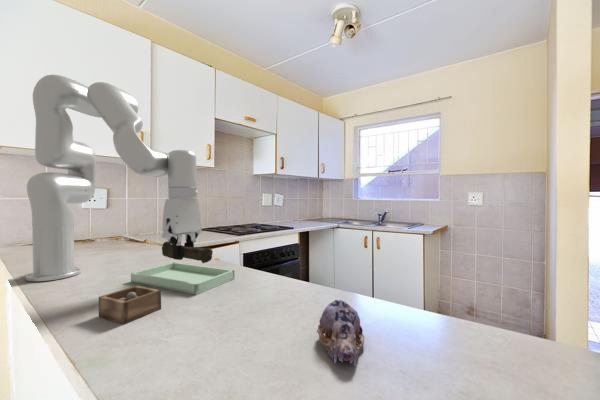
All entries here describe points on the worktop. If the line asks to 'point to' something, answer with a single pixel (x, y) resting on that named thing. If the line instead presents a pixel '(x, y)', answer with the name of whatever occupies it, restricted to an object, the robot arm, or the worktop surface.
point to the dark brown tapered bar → (189, 252)
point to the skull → (341, 331)
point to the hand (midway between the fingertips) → (183, 257)
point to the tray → (183, 277)
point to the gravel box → (129, 304)
